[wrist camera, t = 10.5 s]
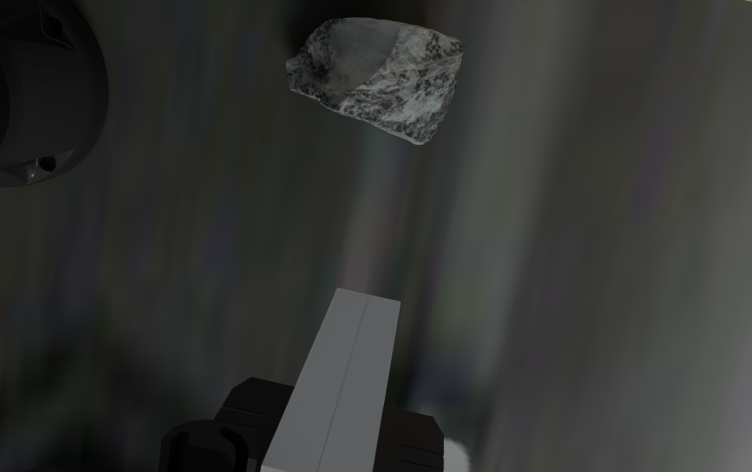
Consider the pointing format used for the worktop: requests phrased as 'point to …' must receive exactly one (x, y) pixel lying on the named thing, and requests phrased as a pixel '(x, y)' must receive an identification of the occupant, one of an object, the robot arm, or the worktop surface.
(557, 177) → the worktop surface
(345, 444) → the robot arm
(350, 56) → the stone
